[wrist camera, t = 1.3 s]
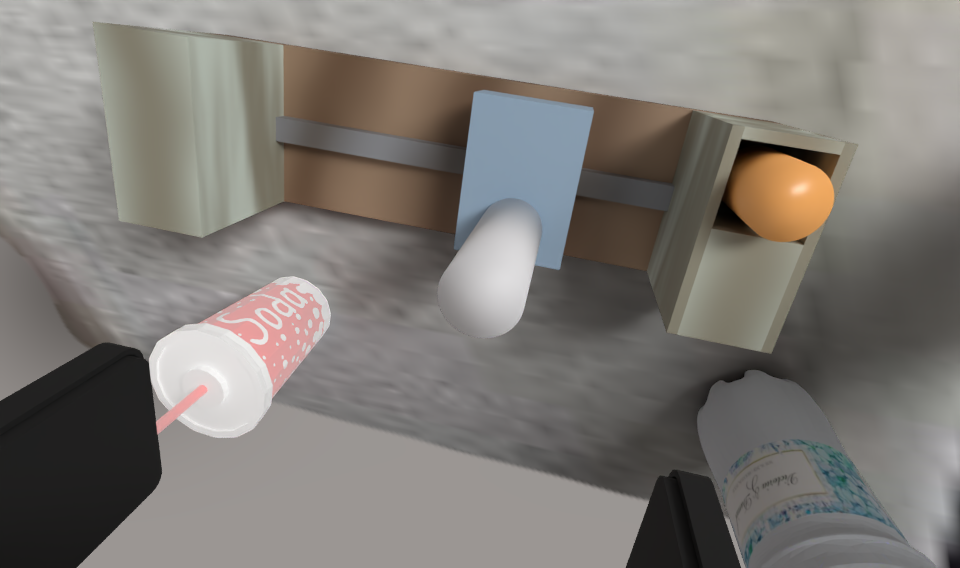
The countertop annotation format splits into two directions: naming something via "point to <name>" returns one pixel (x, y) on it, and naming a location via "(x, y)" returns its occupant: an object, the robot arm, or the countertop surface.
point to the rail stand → (443, 163)
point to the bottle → (793, 482)
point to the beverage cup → (237, 358)
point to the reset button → (778, 194)
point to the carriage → (511, 206)
